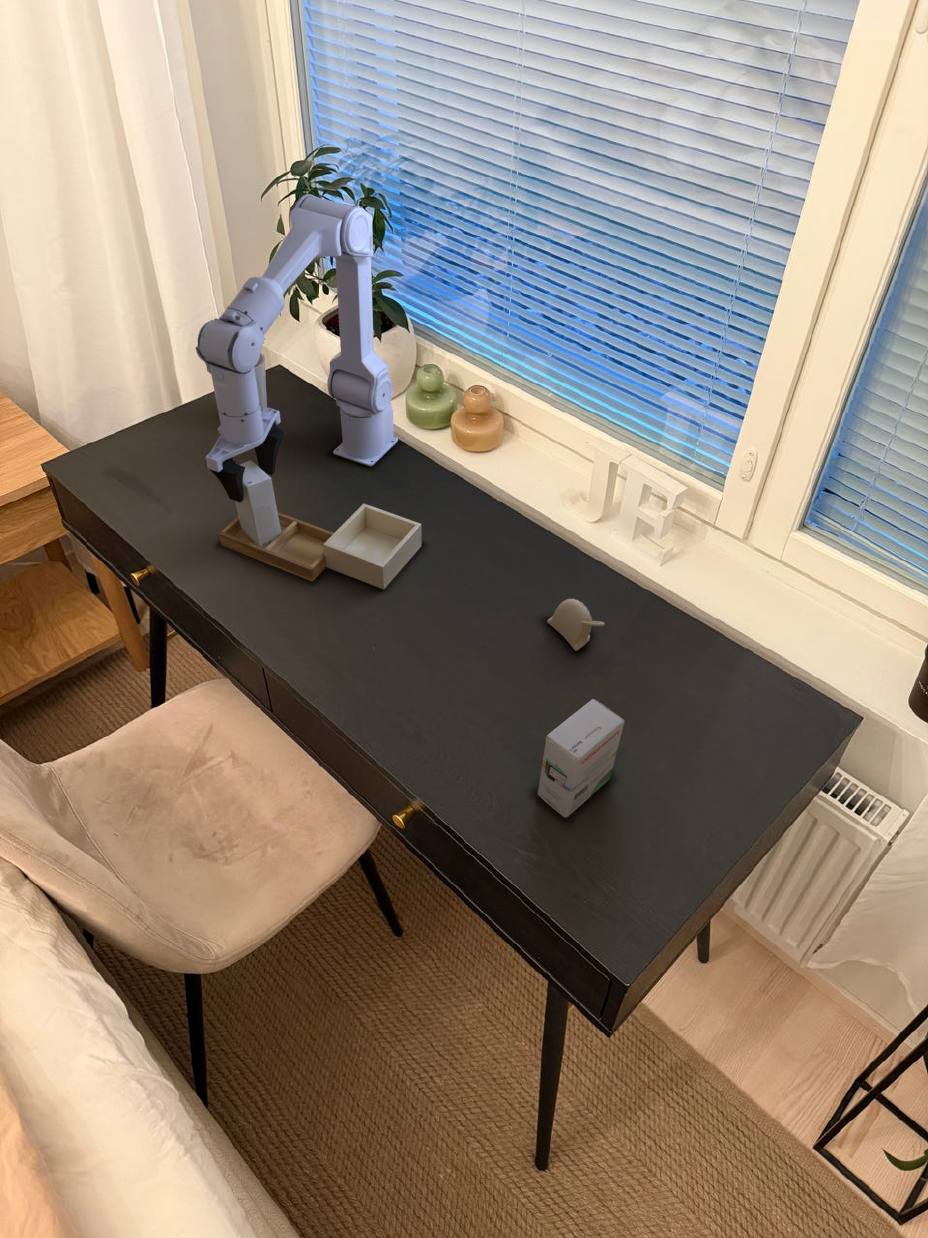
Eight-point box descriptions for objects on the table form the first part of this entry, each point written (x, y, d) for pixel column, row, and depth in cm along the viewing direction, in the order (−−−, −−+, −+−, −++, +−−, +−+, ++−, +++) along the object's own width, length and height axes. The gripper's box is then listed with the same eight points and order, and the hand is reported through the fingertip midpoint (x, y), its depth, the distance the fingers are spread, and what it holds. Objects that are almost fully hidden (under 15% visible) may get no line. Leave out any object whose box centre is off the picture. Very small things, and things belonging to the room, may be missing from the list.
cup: (222, 428, 161) (211, 368, 153) (237, 405, 167) (227, 346, 158) (265, 433, 160) (256, 373, 152) (278, 410, 166) (270, 350, 158)
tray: (255, 514, 144) (253, 502, 143) (344, 548, 139) (343, 536, 137) (221, 545, 139) (218, 533, 137) (312, 581, 133) (311, 569, 132)
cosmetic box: (284, 540, 139) (274, 477, 131) (258, 552, 137) (247, 488, 129) (263, 521, 142) (253, 457, 134) (238, 532, 140) (226, 468, 132)
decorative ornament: (568, 611, 131) (572, 584, 127) (604, 647, 126) (609, 620, 122) (546, 621, 129) (549, 594, 125) (581, 658, 124) (586, 631, 120)
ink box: (581, 755, 112) (593, 694, 104) (611, 779, 110) (626, 719, 102) (535, 794, 108) (544, 734, 100) (566, 820, 106) (577, 761, 97)
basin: (364, 525, 143) (363, 503, 140) (421, 546, 140) (421, 523, 137) (325, 566, 136) (322, 544, 133) (383, 589, 133) (382, 567, 129)
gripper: (247, 374, 129) (259, 453, 139) (181, 422, 120) (199, 503, 129) (287, 387, 127) (297, 466, 137) (223, 437, 118) (238, 518, 127)
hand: (252, 485), depth 133 cm, fingers open, 7 cm apart
